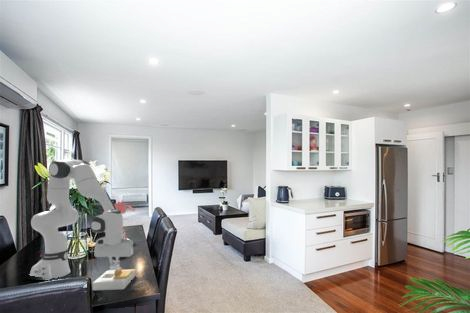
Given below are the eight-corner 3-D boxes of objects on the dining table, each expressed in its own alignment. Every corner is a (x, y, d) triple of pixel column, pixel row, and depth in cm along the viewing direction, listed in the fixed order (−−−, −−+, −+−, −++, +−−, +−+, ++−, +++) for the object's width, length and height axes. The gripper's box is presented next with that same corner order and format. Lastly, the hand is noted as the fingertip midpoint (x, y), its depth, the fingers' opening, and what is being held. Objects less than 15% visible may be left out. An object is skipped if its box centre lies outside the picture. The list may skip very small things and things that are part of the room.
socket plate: (92, 290, 134) (92, 282, 134) (107, 277, 150) (107, 270, 150) (123, 289, 134) (123, 281, 134) (135, 276, 150) (135, 269, 150)
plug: (109, 274, 154) (108, 263, 155) (112, 271, 159) (112, 260, 159) (116, 273, 154) (116, 262, 155) (120, 270, 159) (119, 260, 159)
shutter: (113, 278, 137) (113, 272, 138) (120, 271, 146) (120, 266, 147) (126, 278, 138) (126, 272, 138) (132, 271, 147) (132, 265, 147)
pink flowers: (101, 243, 220) (101, 202, 221) (130, 237, 239) (130, 199, 240) (108, 247, 210) (108, 204, 211) (138, 240, 229) (138, 200, 230)
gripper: (135, 237, 146) (134, 262, 146) (98, 237, 146) (98, 262, 145) (130, 240, 140) (130, 266, 140) (92, 241, 140) (92, 266, 139)
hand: (113, 264), depth 142 cm, fingers closed
